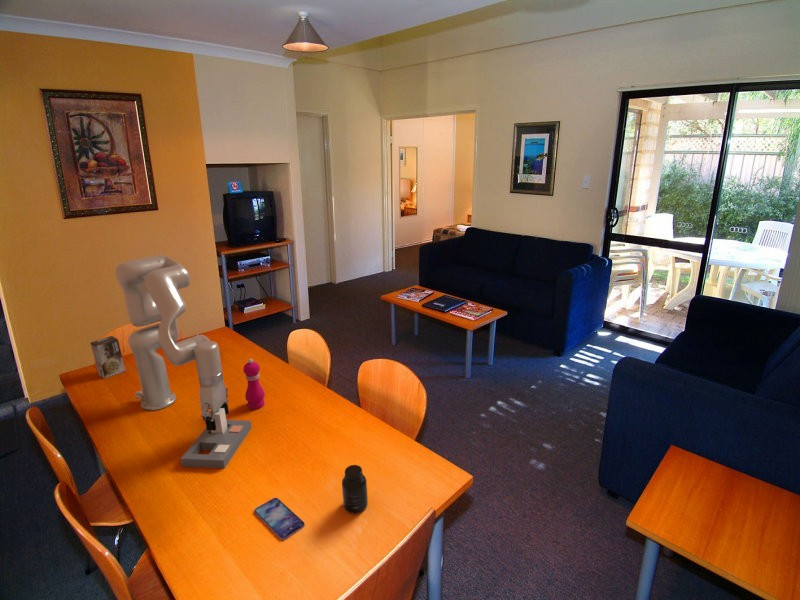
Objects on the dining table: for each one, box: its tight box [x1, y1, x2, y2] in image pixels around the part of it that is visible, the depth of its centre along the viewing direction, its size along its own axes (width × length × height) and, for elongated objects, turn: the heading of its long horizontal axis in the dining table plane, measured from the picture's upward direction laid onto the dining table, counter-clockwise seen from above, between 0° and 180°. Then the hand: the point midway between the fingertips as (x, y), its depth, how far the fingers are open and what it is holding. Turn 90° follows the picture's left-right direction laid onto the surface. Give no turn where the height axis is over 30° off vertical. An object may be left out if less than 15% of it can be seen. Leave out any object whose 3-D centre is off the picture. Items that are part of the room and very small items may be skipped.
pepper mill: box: [242, 358, 266, 410], centre depth 177 cm, size 7×7×20 cm
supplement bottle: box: [341, 464, 369, 514], centre depth 128 cm, size 7×7×12 cm
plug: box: [208, 408, 228, 434], centre depth 160 cm, size 4×4×12 cm
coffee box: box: [90, 335, 126, 379], centre depth 206 cm, size 9×6×16 cm
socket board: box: [180, 419, 252, 469], centre depth 156 cm, size 14×22×3 cm, turn 175°
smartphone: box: [254, 497, 306, 541], centre depth 125 cm, size 7×1×15 cm
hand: (218, 421), depth 160 cm, fingers open, 9 cm apart
